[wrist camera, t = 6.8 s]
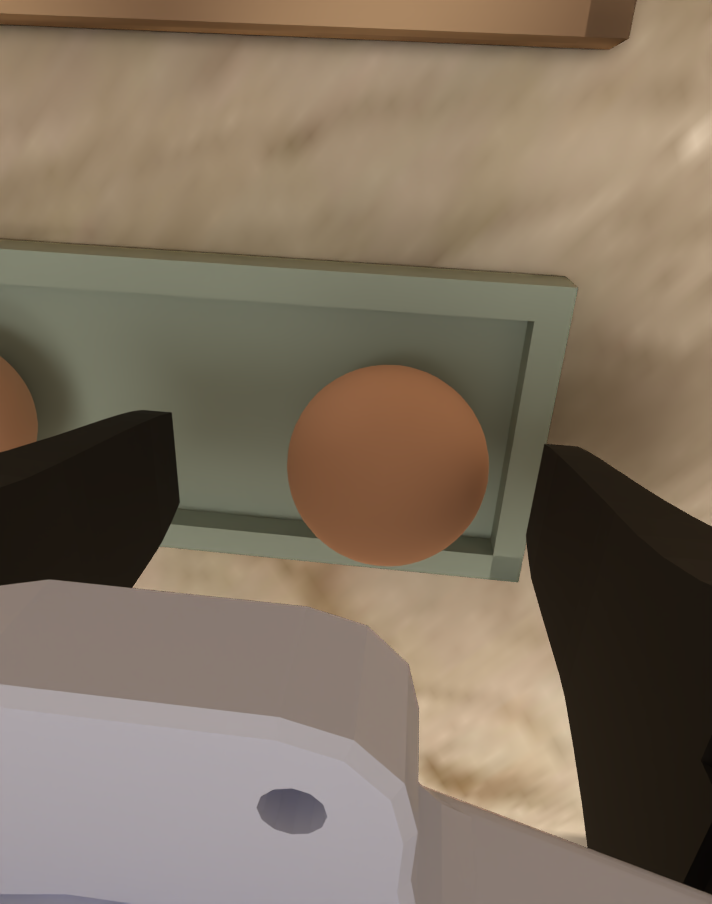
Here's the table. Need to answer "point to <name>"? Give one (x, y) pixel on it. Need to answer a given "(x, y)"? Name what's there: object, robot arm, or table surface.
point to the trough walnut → (351, 19)
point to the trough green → (283, 373)
